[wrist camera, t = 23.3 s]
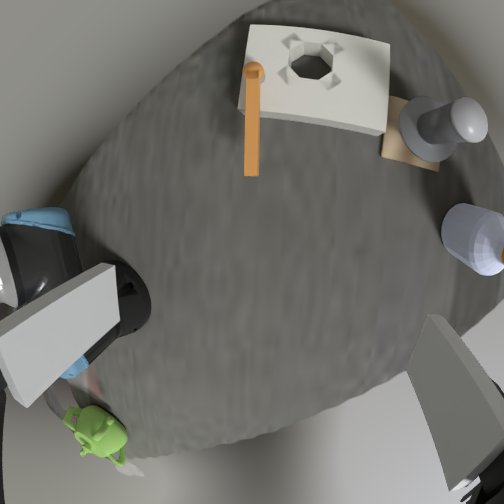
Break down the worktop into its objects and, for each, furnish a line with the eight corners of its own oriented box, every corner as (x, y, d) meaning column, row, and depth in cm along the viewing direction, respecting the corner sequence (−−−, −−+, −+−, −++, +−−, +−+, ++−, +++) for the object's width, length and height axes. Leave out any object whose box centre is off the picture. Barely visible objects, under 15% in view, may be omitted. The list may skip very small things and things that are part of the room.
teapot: (119, 409, 66) (95, 441, 52) (140, 447, 71) (122, 477, 58) (76, 393, 70) (52, 419, 56) (98, 432, 75) (79, 457, 61)
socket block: (245, 115, 39) (234, 107, 33) (256, 38, 35) (248, 20, 29) (376, 136, 37) (388, 130, 31) (382, 56, 32) (392, 40, 26)
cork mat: (380, 156, 37) (381, 156, 37) (386, 95, 34) (387, 94, 34) (437, 172, 36) (438, 172, 35) (442, 113, 33) (443, 112, 32)
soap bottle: (454, 192, 36) (559, 221, 13) (487, 219, 36) (584, 262, 13) (431, 240, 39) (522, 306, 16) (465, 264, 39) (551, 333, 15)
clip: (244, 65, 31) (242, 62, 30) (264, 64, 31) (263, 61, 30) (242, 175, 36) (240, 175, 34) (262, 176, 35) (261, 176, 34)
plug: (380, 145, 36) (424, 136, 21) (397, 94, 33) (443, 60, 17) (429, 171, 36) (490, 180, 20) (445, 121, 33) (507, 108, 17)
